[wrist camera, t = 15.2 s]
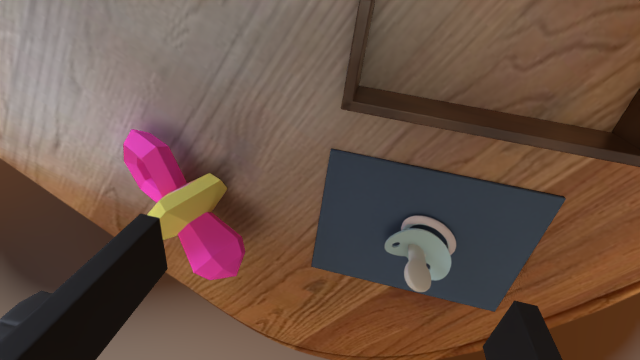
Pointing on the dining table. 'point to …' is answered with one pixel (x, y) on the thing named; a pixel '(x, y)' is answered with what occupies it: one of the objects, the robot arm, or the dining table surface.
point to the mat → (435, 202)
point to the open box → (486, 114)
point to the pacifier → (422, 251)
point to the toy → (185, 207)
